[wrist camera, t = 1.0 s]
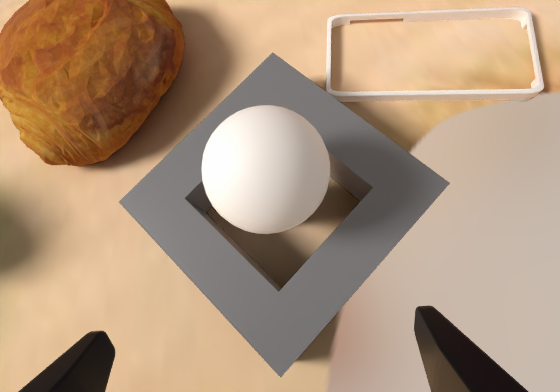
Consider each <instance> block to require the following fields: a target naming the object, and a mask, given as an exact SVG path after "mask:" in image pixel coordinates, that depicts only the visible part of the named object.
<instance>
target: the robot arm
mask: <svg viewBox="0 0 560 392" xmlns="http://www.w3.org/2000/svg"><path fill="white" fill-rule="evenodd" d="M414 331H415V336H416V340H417V343H418V346H419V350H420V354H421V357H422V361H423V364H424V368H425V371H426V374H427V378H428V382H429V385H430V389H431V392H528V391H527V390H526V389H525V388H524V387H523V386H521V385H520V384H519V383H518V382H517V381H516V380H515V379H514V378H513V377H511V376H510V375H509V374H508V373H507V372H506V371H505V370H503V369H502V368H501V367H500V366H499V365H498V364H497V363H496V362H495V361H493V360H492V359H491V358H490V357H489V356H488V355H487V354H486V353H485V352H483V351H482V350H481V349H480V348H479V347H478V346H477V345H475V344H474V343H473V342H472V341H471V340H470V339H469V338H468V337H466V335H464V334H463V333H462V332H461V331H460V330H459V329H458V328H457V327H455V326H454V325H453V324H452V323H451V322H450V321H449V320H448V319H446V318H445V317H444V316H443V315H442V314H441V313H440V312H439V311H437V310H436V309H435V308H434V307H432V306H419V307H417V308H416V311H415V323H414ZM114 358H115V348H114V346H113V344H112V342H111V341H110V339H109V337H108V335H107V334H106V332H104V331H92V332H89V333H87V334H86V335H85V336H84V337H82V338H81V339H80V340H79V341H78V342H77V343H75V344H74V345H73V346H72V347H71V348H69V349H68V350H67V351H66V352H65V353H64V354H62V355H61V356H60V357H59V358H58V359H56V360H55V361H54V362H53V363H52V364H51V365H49V366H48V367H47V368H46V369H45V370H43V371H42V372H41V373H40V374H39V375H38V376H36V377H35V378H34V379H33V380H32V381H30V382H29V383H28V384H27V385H26V386H25V387H23V388H22V389H21V390H20V391H19V392H105V390H106V386H107V383H108V379H109V376H110V372H111V368H112V365H113V361H114Z"/></svg>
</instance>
